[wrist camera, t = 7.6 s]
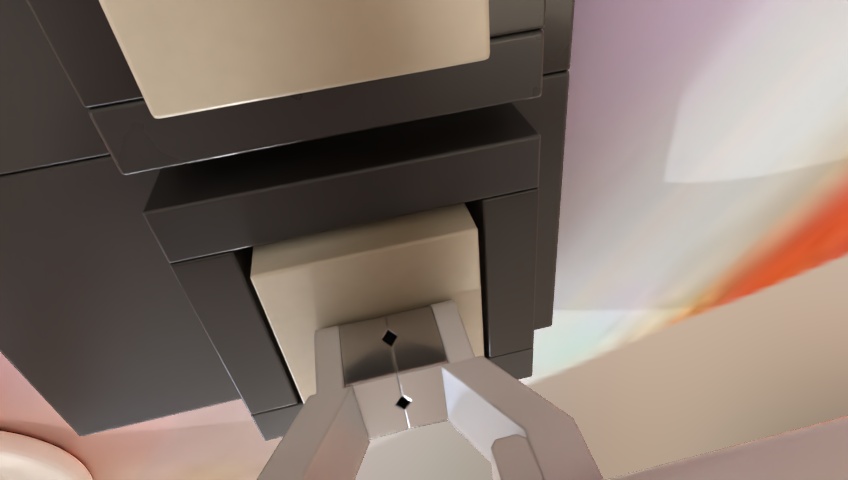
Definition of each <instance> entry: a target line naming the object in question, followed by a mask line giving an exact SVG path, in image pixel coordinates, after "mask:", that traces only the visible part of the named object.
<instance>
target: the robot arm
mask: <svg viewBox="0 0 848 480" xmlns="http://www.w3.org/2000/svg"><path fill="white" fill-rule="evenodd" d="M314 351H315V375H316V394H315V395H311V396H309V397H308V399H307V400H306V402H305V403H304V405H303V407H302V408H301V410H300V411H299V413H298V415H297V416H296V418H295V419H294V421H293V423H292V424H291V426H290V427H289V429H288V430H287V432H286V434H285V435H284V437H283V438H282V440H281V442H280V443H279V445H278V446H277V448H276V450H275V451H274V453H273V454H272V456H271V458H270V459H269V461H268V462H267V464H266V466H265V467H264V469H263V470H262V472H261V473H260V475H259V477H258V478H257V480H355V477H356V475H357V473H358V470H359V468H360V465H361V463H362V460H363V458H364V455H365V453H366V450H367V448H368V445H369V443H370V442H369V440H370V439H374V438H378V437H381V436H385V435H389V434H392V433H396V432H400V431H403V430H407V429H411V428H416V427H420V426H425V425H430V424H434V423H439V422H443V421H448V420H449V423H450V424H451V425H452V426H453V427H454V428H455V429H456V430H458V432H460V433H461V435H463V436H464V437H465V438H466V439H467V440H468V441H469V442H470V443H471V444H472V445H473V446H474V447H475V448H476V449H477V450H478V451H479V452H480V453H481V454H482V455H483V456H484V457H485V458H486V459H487V460H488V461H489V462H490V463H491V464H492V480H604V479H603V477H602V475H601V473H600V471H599V469H598V467H597V465H596V463H595V461H594V459H593V457H592V455H591V453H590V451H589V449H588V447H587V445H586V443H585V441H584V439H583V437H582V435H581V433H580V431H579V429H578V427H577V425H576V423H575V421H574V419H573V418H572V417H571V416H569V415H568V414H566V413H565V412H563V411H562V410H561V409H559V408H558V407H556V406H555V405H553V404H552V403H550V402H549V401H548V400H546V399H545V398H543V397H542V396H540V395H539V394H537V393H536V392H534V391H533V390H532V389H530V388H529V387H527V386H526V385H524V384H523V383H521V382H520V381H519V380H517V379H516V378H514V377H513V376H511V375H510V374H508V373H507V372H506V371H504V370H503V369H501V368H500V367H498V366H497V365H495V364H494V363H493V362H491V361H490V360H488V359H487V358H485V357H484V356H477V357H475V354H474V351H473V349H472V346H471V343H470V340H469V338H468V335H467V332H466V330H465V327H464V324H463V321H462V319H461V316H460V313H459V310H458V308H457V305H456V302H455V301H454V300H449V301H445V302H440V303H436V304H432V305H431V306H430V305H427V306H423V307H419V308H414V309H410V310H406V311H402V312H397V313H393V314H389V315H385V316H381V317H376V318H371V319H366V320H361V321H356V322H351V323H346V324H341V325H338V326H333V327H328V328H323V329H318V330H315V334H314ZM606 480H848V416H844V417H840V418H837V419H833V420H829V421H825V422H821V423H818V424H814V425H810V426H807V427H803V428H799V429H795V430H791V431H788V432H784V433H780V434H777V435H772V436H768V437H765V438H761V439H757V440H753V441H750V442H746V443H742V444H738V445H734V446H731V447H727V448H723V449H719V450H715V451H712V452H708V453H704V454H700V455H696V456H693V457H689V458H685V459H682V460H678V461H674V462H670V463H666V464H662V465H659V466H655V467H651V468H647V469H644V470H640V471H636V472H632V473H628V474H625V475H621V476H617V477H613V478H609V479H606Z"/></svg>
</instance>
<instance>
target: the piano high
mask: <svg viewBox="0 0 848 480" xmlns="http://www.w3.org/2000/svg"><path fill="white" fill-rule="evenodd" d="M573 14H574V0H489V32H490V55H489V58H488V59H486V60H483V61H478V62H472V63H466V64H461V65H455V66H450V67H444V68H439V69H433V70H428V71H422V72H416V73H411V74H405V75H400V76H394V77H389V78H383V79H378V80H372V81H366V82H361V83H355V84H350V85H344V86H339V87H333V88H328V89H322V90H317V91H311V92H305V93H300V94H294V95H289V96H283V97H278V98H272V99H267V100H261V101H255V102H250V103H244V104H239V105H233V106H228V107H222V108H217V109H211V110H206V111H200V112H194V113H189V114H183V115H178V116H172V117H167V118H161V119H157V118H154V117H153V116H152V114H151V113H150V111H149V108H148V106H147V104H146V102H145V100H144V98H143V95H142V93H141V91H140V89H139V87H138V85H137V82H136V80H135V78H134V76H133V74H132V72H131V69H130V67H129V65H128V63H127V61H126V59H125V56H124V54H123V52H122V50H121V48H120V46H119V43H118V41H117V39H116V37H115V35H114V33H113V30H112V28H111V26H110V24H109V22H108V20H107V17H106V15H105V13H104V11H103V9H102V7H101V4H100V2H99V0H0V175H2V174H7V173H13V172H18V171H23V170H29V169H34V168H40V167H45V166H50V165H56V164H61V163H67V162H72V161H77V160H83V159H88V158H94V157H99V156H105V155H111V157H112V158H113V160H114V162H115V164H116V166H117V168H118V169H119V171H120V173H121V174H122V175H131V174H136V173H142V172H147V171H152V170H157V169H163V168H168V167H173V166H179V165H184V164H189V163H194V162H200V161H205V160H210V159H215V158H221V157H226V156H231V155H237V154H242V153H247V152H252V151H258V150H263V149H268V148H274V147H279V146H284V145H289V144H295V143H300V142H305V141H311V140H316V139H321V138H326V137H332V136H337V135H342V134H347V133H353V132H358V131H363V130H369V129H374V128H379V127H384V126H390V125H395V124H400V123H406V122H411V121H416V120H421V119H427V118H432V117H437V116H443V115H448V114H453V113H458V112H464V111H469V110H474V109H479V108H485V107H490V106H495V105H501V104H506V103H511V102H516V101H522V100H527V99H532V98H538V97H540V96H541V94H542V80H543V74H548V73H553V72H559V71H564V70H568V69H569V67H570V57H571V43H572V29H573Z"/></svg>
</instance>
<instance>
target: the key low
mask: <svg viewBox="0 0 848 480" xmlns="http://www.w3.org/2000/svg"><path fill="white" fill-rule="evenodd" d="M250 279H251V281H252V283H253V286H254V288H255V290H256V293H257V295H258V297H259V300H260V302H261V304H262V307H263V309H264V312H265V314H266V316H267V319H268V321H269V323H270V326H271V328H272V330H273V333H274V335H275V338H276V340H277V342H278V345H279V347H280V349H281V352H282V354H283V356H284V359H285V361H286V363H287V366H288V368H289V371H290V373H291V375H292V378H293V380H294V382H295V385H296V387H297V389H298V392H299V394H300V397H301V399H302V401H303V404H304V403H305V402H306V400H307V399H308V397H309V396H311V395H315V394H316V375H315V351H314V334H315V330H318V329H323V328H328V327H333V326H338V325H341V324H346V323H351V322H356V321H361V320H366V319H371V318H376V317H381V316H385V315H389V314H393V313H397V312H402V311H406V310H410V309H414V308H419V307H423V306H427V305H430V306H431V305H432V304H436V303H440V302H445V301H449V300H454V301H455V302H456V305H457V308H458V310H459V313H460V316H461V319H462V321H463V324H464V327H465V330H466V332H467V335H468V338H469V340H470V343H471V346H472V349H473V351H474V354H475V357H477V356H484V339H483V320H482V300H481V281H480V261H479V242H478V229H477V227H476V225H475V223H474V221H473V219H472V217H471V215H470V213H469V211H468V209H467V207H466V205H465V203H460V204H455V205H451V206H446V207H441V208H436V209H431V210H426V211H422V212H417V213H412V214H407V215H402V216H397V217H393V218H388V219H383V220H378V221H373V222H368V223H364V224H359V225H354V226H349V227H344V228H339V229H335V230H330V231H325V232H320V233H315V234H310V235H306V236H301V237H296V238H291V239H286V240H281V241H277V242H272V243H267V244H262V245H257V246H253V254H252V265H251V276H250Z"/></svg>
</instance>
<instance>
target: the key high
mask: <svg viewBox="0 0 848 480" xmlns="http://www.w3.org/2000/svg"><path fill="white" fill-rule="evenodd" d="M99 2H100V4H101V7H102V9H103V11H104V13H105V15H106V17H107V20H108V22H109V24H110V26H111V28H112V30H113V33H114V35H115V37H116V39H117V41H118V43H119V46H120V48H121V50H122V52H123V54H124V56H125V59H126V61H127V63H128V65H129V67H130V69H131V72H132V74H133V76H134V78H135V80H136V82H137V85H138V87H139V89H140V91H141V93H142V95H143V98H144V100H145V102H146V104H147V106H148V108H149V111H150V113H151V114H152V116H153V117H154V118H157V119H161V118H167V117H172V116H178V115H183V114H189V113H194V112H200V111H206V110H211V109H217V108H222V107H228V106H233V105H239V104H244V103H250V102H255V101H261V100H267V99H272V98H278V97H283V96H289V95H294V94H300V93H305V92H311V91H317V90H322V89H328V88H333V87H339V86H344V85H350V84H355V83H361V82H366V81H372V80H378V79H383V78H389V77H394V76H400V75H405V74H411V73H416V72H422V71H428V70H433V69H439V68H444V67H450V66H455V65H461V64H466V63H472V62H478V61H483V60H486V59H488V58H489V55H490V32H489V0H99Z"/></svg>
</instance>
